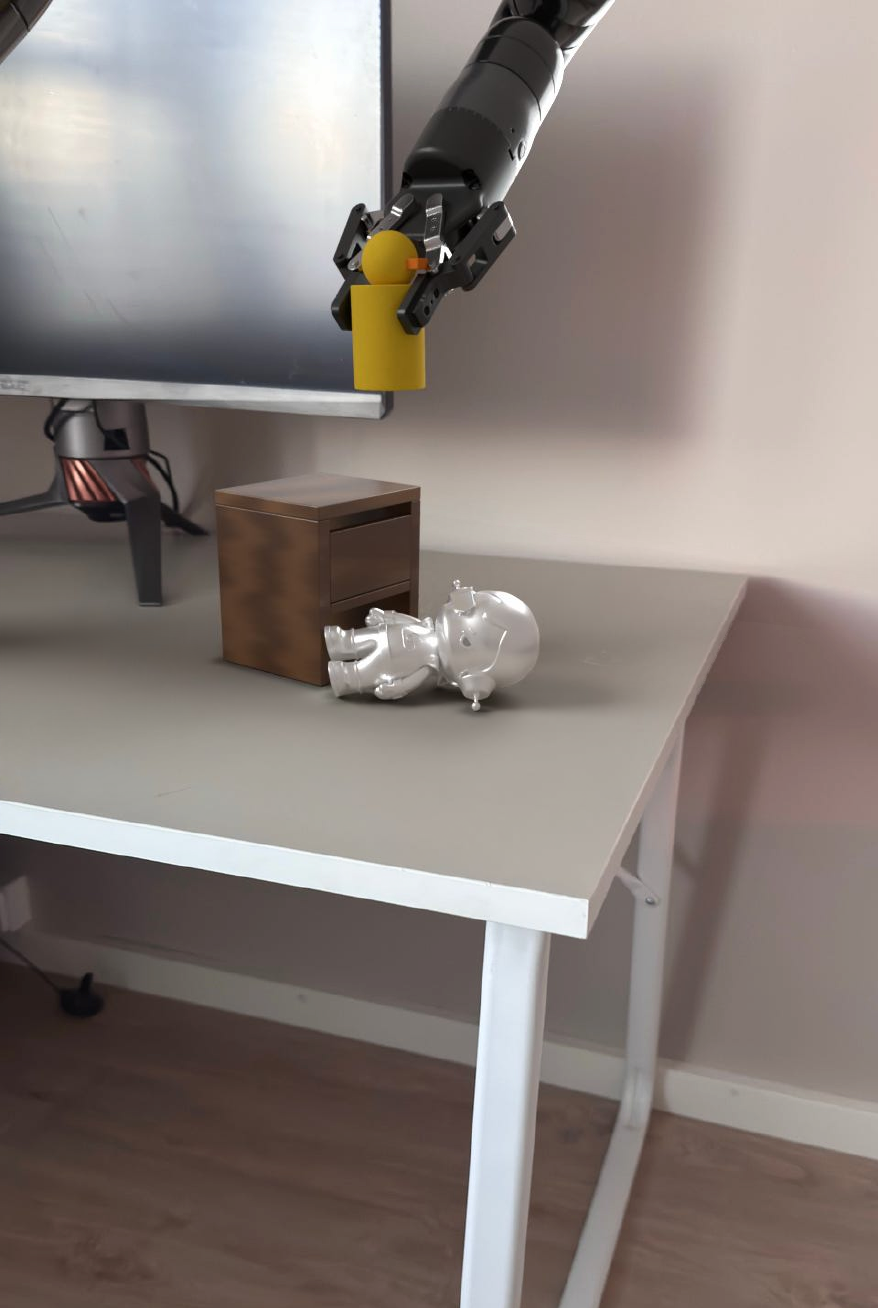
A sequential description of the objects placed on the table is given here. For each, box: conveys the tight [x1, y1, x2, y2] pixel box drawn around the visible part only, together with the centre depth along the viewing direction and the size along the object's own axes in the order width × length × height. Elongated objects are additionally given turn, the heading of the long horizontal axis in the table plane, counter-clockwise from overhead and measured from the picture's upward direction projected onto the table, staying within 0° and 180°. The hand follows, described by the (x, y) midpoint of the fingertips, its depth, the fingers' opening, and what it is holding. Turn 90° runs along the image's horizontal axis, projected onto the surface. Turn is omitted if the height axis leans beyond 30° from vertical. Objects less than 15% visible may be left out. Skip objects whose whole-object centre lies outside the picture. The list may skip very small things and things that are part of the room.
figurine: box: [324, 579, 541, 712], centre depth 84 cm, size 11×7×15 cm
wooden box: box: [214, 471, 422, 687], centre depth 90 cm, size 10×12×13 cm
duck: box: [351, 230, 428, 392], centre depth 84 cm, size 6×5×10 cm
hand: (373, 323), depth 83 cm, fingers closed on duck, 5 cm apart
